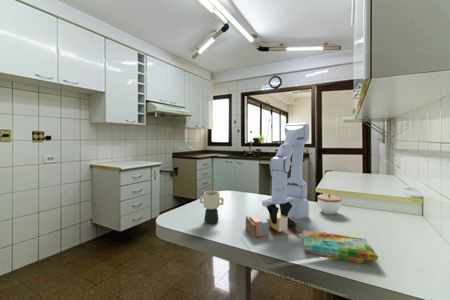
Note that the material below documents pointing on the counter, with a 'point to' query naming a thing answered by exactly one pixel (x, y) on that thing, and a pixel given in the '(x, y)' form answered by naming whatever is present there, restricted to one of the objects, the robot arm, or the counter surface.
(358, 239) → the puzzle game
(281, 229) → the pale yellow upright block
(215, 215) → the character mug
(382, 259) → the counter surface
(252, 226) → the shelf tray
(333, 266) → the counter surface
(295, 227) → the bookend
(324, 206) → the lidded jar
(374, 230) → the counter surface
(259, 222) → the row books
